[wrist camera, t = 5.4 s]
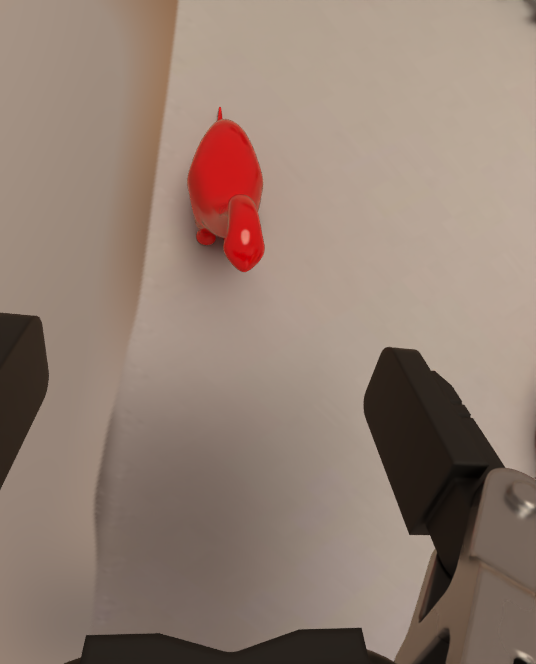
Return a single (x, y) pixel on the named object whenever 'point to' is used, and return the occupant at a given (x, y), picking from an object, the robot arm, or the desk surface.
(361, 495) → the desk surface
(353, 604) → the desk surface
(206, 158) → the dinosaur
